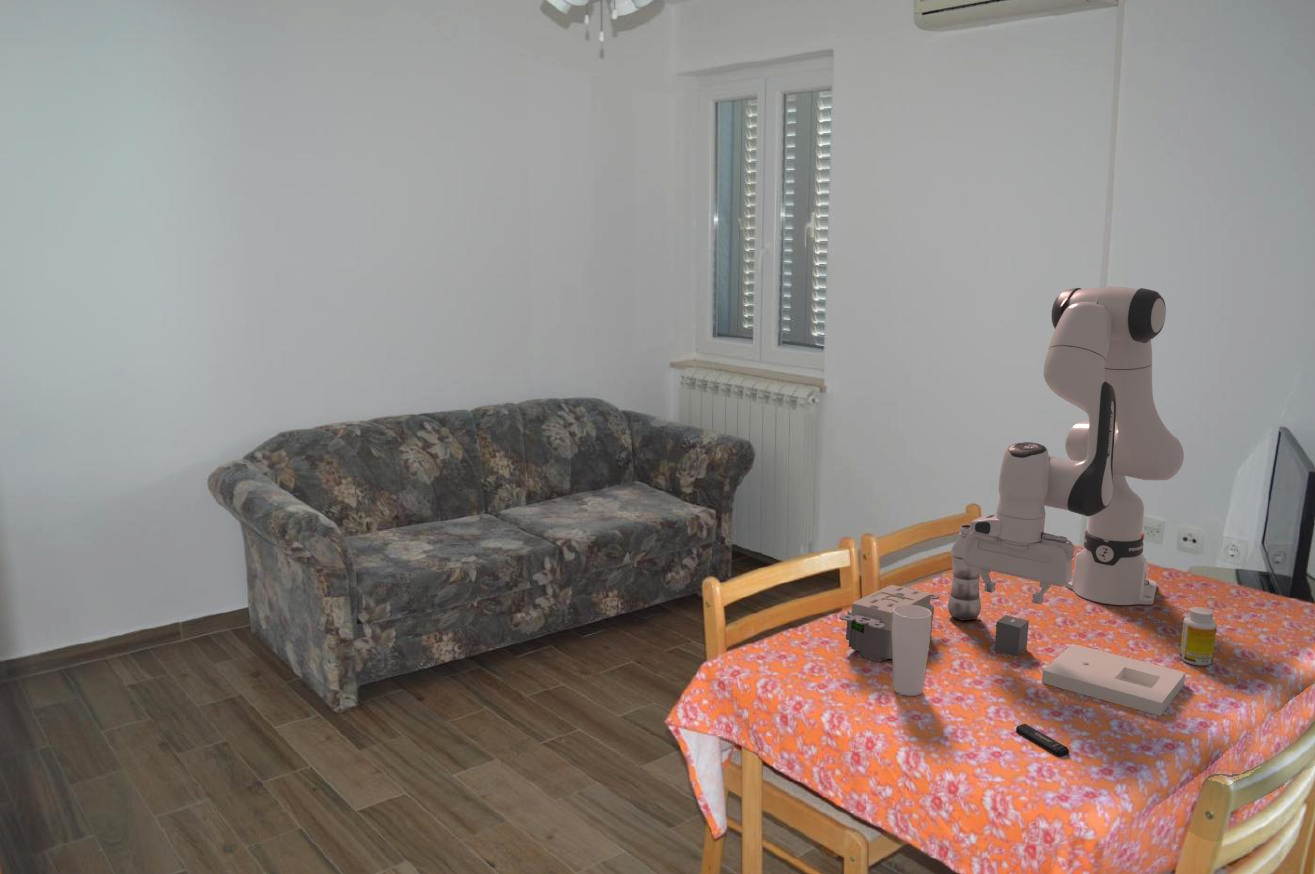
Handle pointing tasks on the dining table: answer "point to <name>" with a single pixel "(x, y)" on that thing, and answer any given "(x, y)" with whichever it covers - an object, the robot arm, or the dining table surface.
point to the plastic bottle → (964, 583)
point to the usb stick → (1042, 740)
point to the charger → (1011, 635)
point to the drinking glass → (910, 647)
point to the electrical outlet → (880, 619)
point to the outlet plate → (1115, 679)
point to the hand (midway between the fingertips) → (1013, 597)
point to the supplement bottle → (1198, 637)
